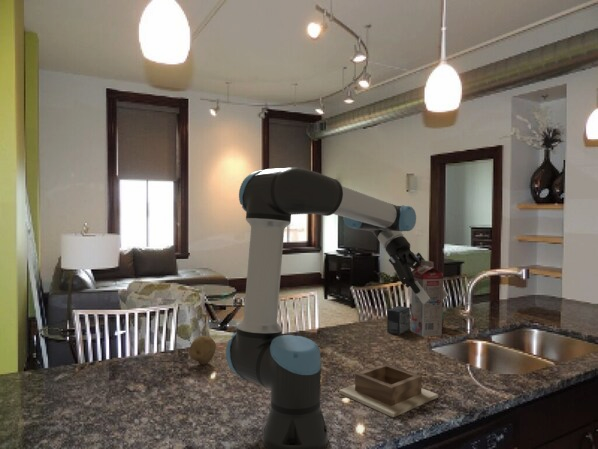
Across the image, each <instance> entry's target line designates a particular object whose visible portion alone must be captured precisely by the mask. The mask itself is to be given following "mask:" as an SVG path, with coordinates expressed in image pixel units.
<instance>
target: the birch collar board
mask: <svg viewBox="0 0 598 449" xmlns="http://www.w3.org/2000/svg"><path fill="white" fill-rule="evenodd" d="M354 377H355V378H354V384H352V385H349V386H346V387H343V388H341V389H339V391H338V392H339V394H340V395H342V396H345V397H347V398H349V399H351V400H354V401H355V402H358V403H360V404H363V405H364V406H367V407H369V408H372V409H373V410H375V411H378V412H380V413H382V414H384V415H387V416H389V417H391V418H395V417H398V416H400V415H402V414H404V413H406V412H409V411H411V410H413V409H415V408H418V407H420V406H422V405H424V404H426V403H429V402H431V401H432V400H435V399H437V398H438V397H439V396H438V395H439V394H438V393H435V392H433V391H430V390H428V389H425V388H422V375H419V374H416V373H413V372H410V371H407V370H405V369H401V368H398V367H396V366H392V365H390V364H387V363H383V364H380V365H378V366H373V367H371V368H368V369H365V370H362V371H359V372H355V374H354Z"/></svg>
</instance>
